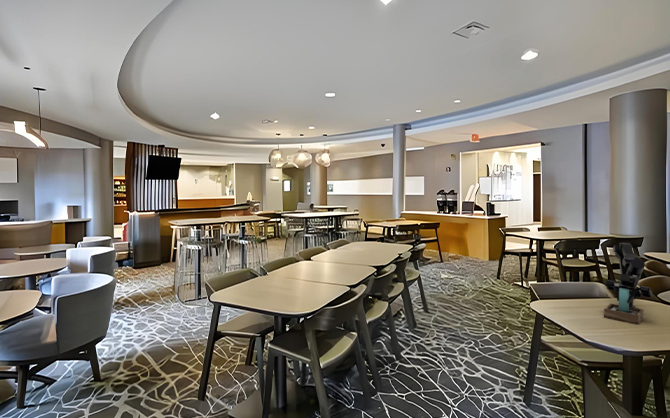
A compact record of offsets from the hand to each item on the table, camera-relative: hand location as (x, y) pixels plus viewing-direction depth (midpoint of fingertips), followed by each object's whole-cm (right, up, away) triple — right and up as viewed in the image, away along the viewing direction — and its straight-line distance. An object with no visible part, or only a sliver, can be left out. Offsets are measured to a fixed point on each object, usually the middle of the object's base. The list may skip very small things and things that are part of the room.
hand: (622, 301), depth 179 cm
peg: (+1, -7, +1) cm, 7 cm away
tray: (+1, -9, +1) cm, 9 cm away
